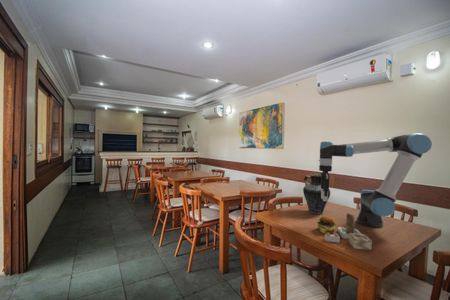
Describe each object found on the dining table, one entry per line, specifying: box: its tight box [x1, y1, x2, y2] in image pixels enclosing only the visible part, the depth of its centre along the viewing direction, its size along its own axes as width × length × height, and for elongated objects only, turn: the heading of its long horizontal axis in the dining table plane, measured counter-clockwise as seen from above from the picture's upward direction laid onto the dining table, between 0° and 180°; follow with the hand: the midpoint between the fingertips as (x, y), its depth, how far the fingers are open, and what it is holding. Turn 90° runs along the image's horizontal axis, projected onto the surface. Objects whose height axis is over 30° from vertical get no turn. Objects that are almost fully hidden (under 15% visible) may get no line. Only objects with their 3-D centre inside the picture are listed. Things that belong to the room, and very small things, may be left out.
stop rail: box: [324, 233, 341, 244], centre depth 121 cm, size 7×2×4 cm, turn 76°
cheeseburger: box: [316, 215, 336, 235], centre depth 135 cm, size 10×11×10 cm
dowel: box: [345, 212, 355, 234], centre depth 128 cm, size 4×4×12 cm
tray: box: [337, 226, 362, 240], centre depth 128 cm, size 11×11×2 cm
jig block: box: [348, 233, 373, 251], centre depth 116 cm, size 8×8×5 cm
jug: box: [302, 173, 331, 215], centre depth 171 cm, size 21×19×30 cm
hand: (324, 199), depth 144 cm, fingers open, 6 cm apart
